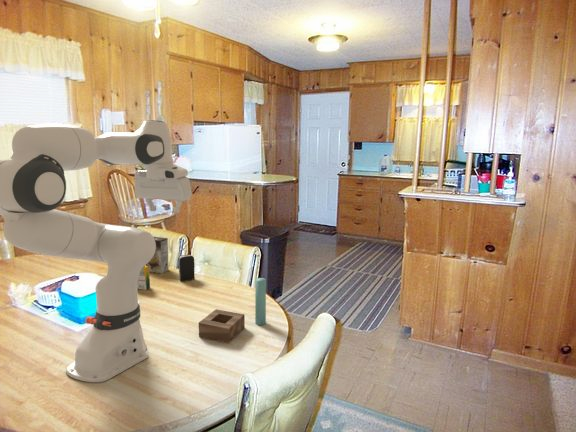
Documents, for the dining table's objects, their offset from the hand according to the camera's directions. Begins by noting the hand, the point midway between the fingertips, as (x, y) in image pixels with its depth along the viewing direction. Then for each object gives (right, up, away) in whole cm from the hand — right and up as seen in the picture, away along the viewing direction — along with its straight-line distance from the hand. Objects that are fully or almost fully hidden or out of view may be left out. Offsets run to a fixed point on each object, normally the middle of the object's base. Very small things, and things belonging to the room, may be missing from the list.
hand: (164, 211), depth 134 cm
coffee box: (-22, -28, +59) cm, 69 cm away
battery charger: (-5, -30, +48) cm, 57 cm away
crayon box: (-22, -32, +37) cm, 54 cm away
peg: (+32, -39, +6) cm, 51 cm away
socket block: (+19, -40, -1) cm, 45 cm away
